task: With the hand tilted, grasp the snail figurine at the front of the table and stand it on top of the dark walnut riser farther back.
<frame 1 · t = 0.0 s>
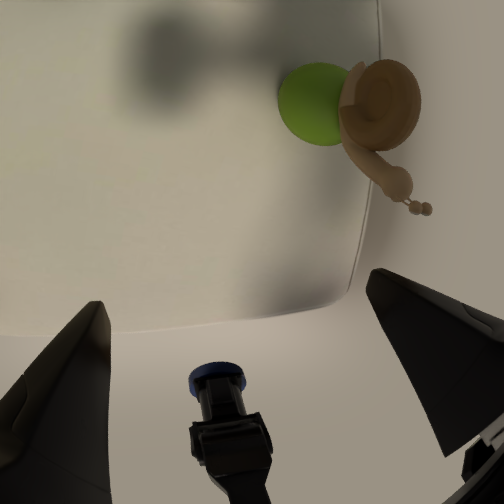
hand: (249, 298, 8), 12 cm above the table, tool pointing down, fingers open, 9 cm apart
snail figurine: (301, 109, 17), on the table
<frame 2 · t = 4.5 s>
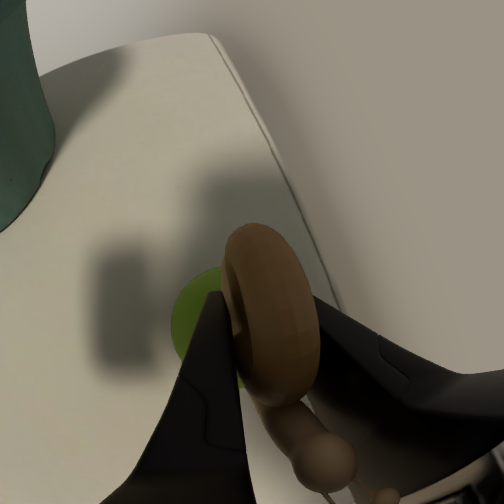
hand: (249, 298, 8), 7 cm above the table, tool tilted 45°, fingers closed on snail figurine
flower pot: (1, 171, 13), on the table
snail figurine: (228, 335, 14), on the table, touching gripper
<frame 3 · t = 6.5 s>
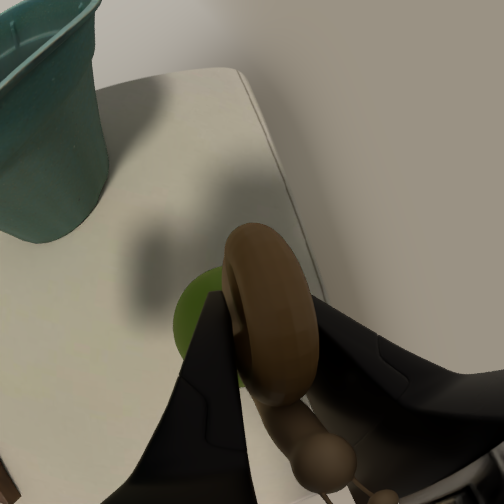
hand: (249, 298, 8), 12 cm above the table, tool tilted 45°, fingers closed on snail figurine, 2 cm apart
flower pot: (55, 183, 20), on the table
snail figurine: (231, 335, 14), point 5 cm above the table, touching gripper
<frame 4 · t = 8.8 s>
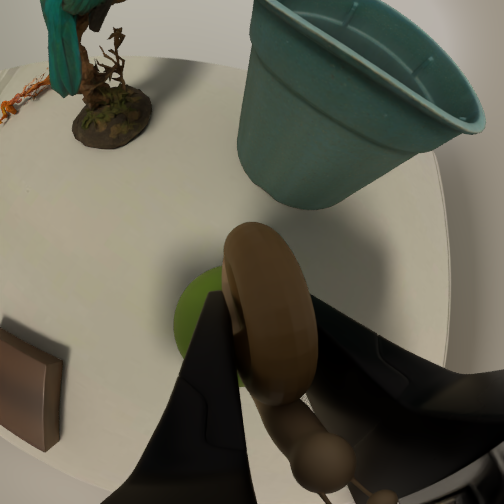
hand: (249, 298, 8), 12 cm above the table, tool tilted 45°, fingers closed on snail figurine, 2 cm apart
riser: (24, 384, 14), on the table
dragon: (33, 99, 21), on the table
sculpture: (117, 115, 22), on the table
flower pot: (298, 156, 25), on the table
snail figurine: (232, 334, 14), point 5 cm above the table, touching gripper
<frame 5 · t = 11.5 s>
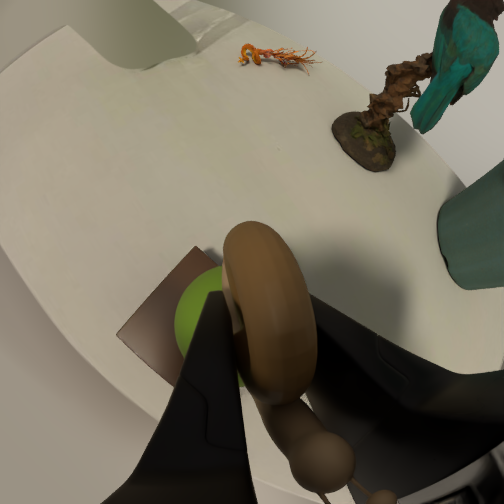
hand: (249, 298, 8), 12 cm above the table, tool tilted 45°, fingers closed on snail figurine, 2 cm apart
riser: (200, 330, 19), on the table
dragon: (277, 64, 29), on the table
sculpture: (365, 140, 28), on the table
flower pot: (461, 246, 28), on the table
snail figurine: (233, 334, 14), point 5 cm above the table, touching gripper
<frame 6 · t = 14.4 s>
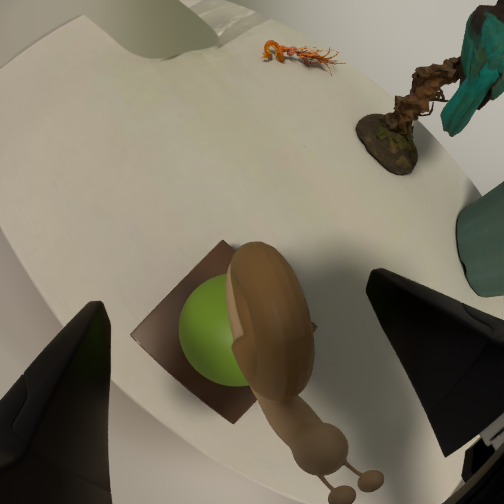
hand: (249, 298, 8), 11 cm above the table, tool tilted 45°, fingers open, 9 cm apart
riser: (222, 333, 18), on the table
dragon: (300, 63, 28), on the table
sculpture: (388, 143, 27), on the table
flower pot: (477, 253, 26), on the table
snail figurine: (231, 337, 15), point 3 cm above the table, touching riser
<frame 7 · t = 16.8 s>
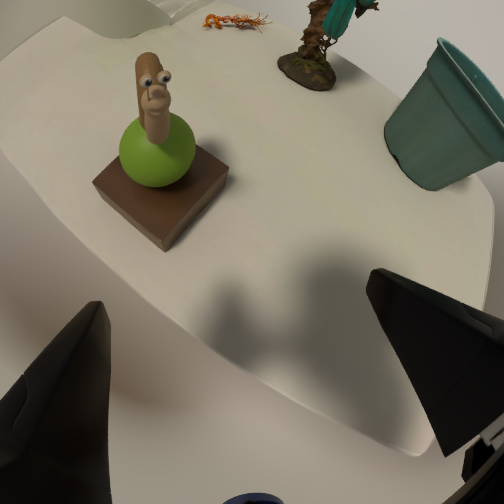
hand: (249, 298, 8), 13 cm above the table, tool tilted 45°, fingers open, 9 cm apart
riser: (161, 190, 22), on the table
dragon: (235, 28, 32), on the table
sculpture: (309, 72, 31), on the table
flower pot: (415, 155, 31), on the table
snail figurine: (161, 175, 20), point 3 cm above the table, touching riser
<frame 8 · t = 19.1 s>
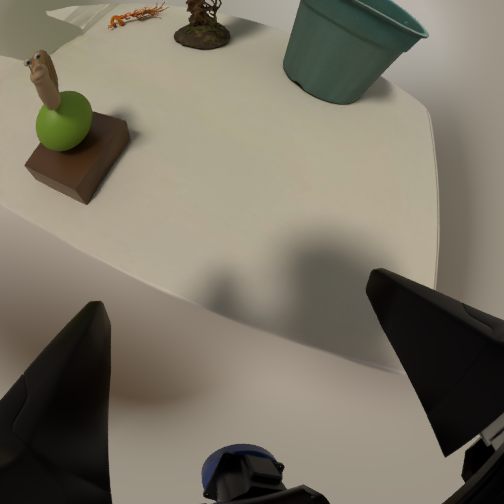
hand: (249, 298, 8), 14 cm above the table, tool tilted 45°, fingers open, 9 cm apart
riser: (80, 159, 22), on the table
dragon: (137, 21, 30), on the table
sculpture: (205, 37, 31), on the table
flower pot: (322, 78, 32), on the table
snail figurine: (74, 143, 19), point 3 cm above the table, touching riser
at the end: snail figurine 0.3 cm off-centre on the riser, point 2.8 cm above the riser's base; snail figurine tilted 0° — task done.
